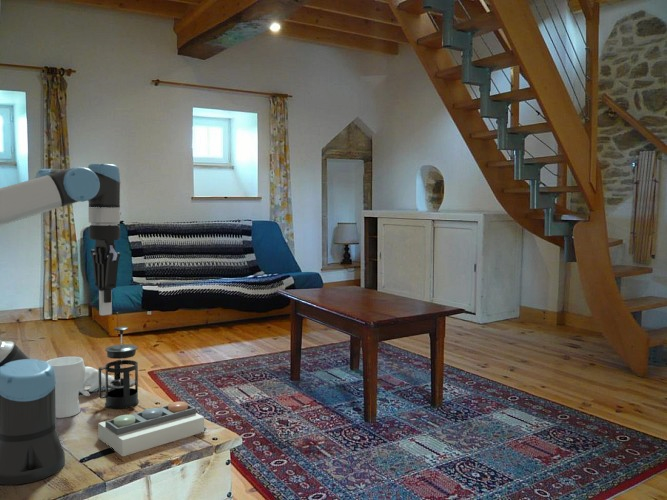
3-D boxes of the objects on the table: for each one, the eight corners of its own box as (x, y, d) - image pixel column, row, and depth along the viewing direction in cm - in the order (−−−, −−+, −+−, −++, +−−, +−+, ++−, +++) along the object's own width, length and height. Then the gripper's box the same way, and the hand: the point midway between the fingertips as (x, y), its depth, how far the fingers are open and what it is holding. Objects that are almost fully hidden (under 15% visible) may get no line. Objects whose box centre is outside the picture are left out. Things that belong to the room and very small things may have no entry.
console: (122, 456, 132) (122, 433, 132) (98, 438, 142) (98, 417, 142) (204, 431, 148) (204, 411, 147) (177, 416, 158) (177, 397, 157)
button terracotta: (174, 417, 146) (174, 409, 146) (164, 411, 150) (164, 404, 150) (191, 412, 150) (191, 405, 150) (181, 407, 153) (181, 400, 153)
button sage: (119, 431, 136) (119, 423, 136) (110, 425, 140) (110, 418, 140) (138, 426, 140) (138, 418, 140) (129, 420, 143) (129, 413, 143)
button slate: (147, 424, 141) (147, 416, 141) (138, 418, 145) (138, 411, 145) (165, 419, 145) (165, 411, 145) (156, 413, 148) (156, 406, 148)
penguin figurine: (73, 365, 175) (112, 362, 183) (71, 392, 175) (110, 388, 183) (79, 370, 170) (119, 367, 178) (77, 398, 170) (117, 394, 178)
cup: (74, 420, 154) (74, 366, 152) (36, 419, 154) (35, 365, 153) (92, 406, 164) (91, 356, 163) (56, 405, 164) (55, 355, 163)
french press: (135, 395, 174) (134, 322, 173) (145, 404, 167) (145, 328, 165) (95, 403, 167) (94, 327, 165) (104, 412, 160) (103, 333, 158)
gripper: (129, 225, 143) (130, 316, 145) (108, 223, 152) (109, 309, 154) (100, 225, 138) (101, 320, 140) (80, 223, 147) (81, 312, 149)
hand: (105, 314), depth 147 cm, fingers closed
